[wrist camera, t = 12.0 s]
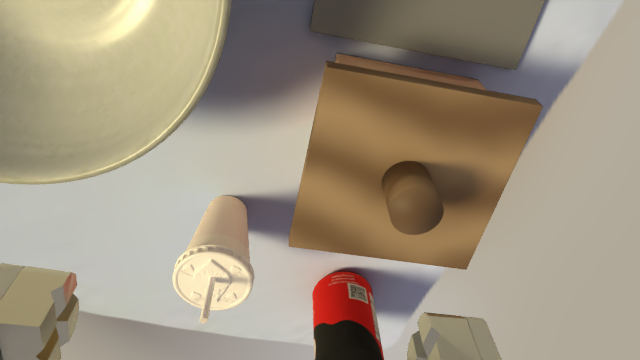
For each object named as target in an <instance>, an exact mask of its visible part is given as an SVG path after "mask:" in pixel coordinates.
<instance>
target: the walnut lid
mask: <svg viewBox="0 0 640 360" xmlns="http://www.w3.org/2000/svg"><path fill="white" fill-rule="evenodd" d="M542 107H543V106H542V105H541V104H540V103H539V102H538V101H537V100H536V99H531V98H526V97H520V96H515V95H509V94H504V93H498V92H493V91H488V90H482V89H477V88H471V87H466V86H460V85H455V84H449V83H444V82H439V81H433V80H428V79H422V78H417V77H411V76H406V75H400V74H395V73H389V72H384V71H379V70H373V69H368V68H362V67H357V66H351V65H346V64H340V63H335V62H330V61H326V65H325V70H324V74H323V79H322V84H321V89H320V93H319V98H318V103H317V107H316V112H315V117H314V122H313V126H312V131H311V136H310V140H309V145H308V150H307V155H306V159H305V164H304V169H303V173H302V178H301V183H300V188H299V192H298V197H297V202H296V206H295V211H294V216H293V221H292V225H291V230H290V235H289V247H297V248H305V249H312V250H320V251H328V252H335V253H343V254H351V255H358V256H366V257H374V258H381V259H389V260H397V261H404V262H412V263H420V264H427V265H435V266H443V267H450V268H458V269H467V267H468V264H469V262H470V260H471V258H472V256H473V254H474V252H475V250H476V247H477V245H478V243H479V241H480V239H481V237H482V235H483V233H484V230H485V228H486V226H487V224H488V222H489V220H490V218H491V216H492V214H493V211H494V209H495V207H496V205H497V203H498V201H499V199H500V197H501V194H502V192H503V190H504V188H505V186H506V184H507V182H508V180H509V177H510V175H511V173H512V171H513V169H514V167H515V165H516V163H517V160H518V158H519V156H520V154H521V152H522V150H523V148H524V146H525V143H526V141H527V139H528V137H529V135H530V133H531V131H532V129H533V126H534V124H535V122H536V120H537V118H538V116H539V114H540V112H541V109H542Z"/></svg>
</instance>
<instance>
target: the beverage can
mask: <svg viewBox="0 0 640 360" xmlns="http://www.w3.org/2000/svg"><path fill="white" fill-rule="evenodd" d="M313 324H314V355H315V360H384V357H383V351H382V346H381V340H380V334H379V328H378V322H377V317H376V311H375V305H374V299H373V294H372V289H371V286H370V285H369V283H368V282H367V281H366V280H365V279H364V278H363V277H361V276H360V275H358V274H355V273H352V272H336V273H332V274H329V275H327V276H325V277H324V278H322V279H321V280H320V281H319V282H318V283H317V285H316V286H315V288H314V291H313Z"/></svg>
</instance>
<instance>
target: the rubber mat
mask: <svg viewBox="0 0 640 360" xmlns="http://www.w3.org/2000/svg"><path fill="white" fill-rule="evenodd" d="M544 1H545V0H315V3H314V8H313V13H312V19H311V24H310V31H312V32H317V33H323V34H328V35H333V36H339V37H344V38H349V39H354V40H360V41H365V42H370V43H375V44H381V45H386V46H391V47H396V48H402V49H407V50H412V51H417V52H423V53H428V54H433V55H438V56H444V57H449V58H454V59H459V60H465V61H470V62H475V63H480V64H486V65H491V66H496V67H501V68H507V69H512V70H516V68H517V66H518V63H519V61H520V58H521V56H522V54H523V51H524V49H525V47H526V44H527V42H528V39H529V37H530V35H531V32H532V30H533V28H534V25H535V23H536V20H537V18H538V16H539V13H540V11H541V9H542V6H543V4H544Z"/></svg>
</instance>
